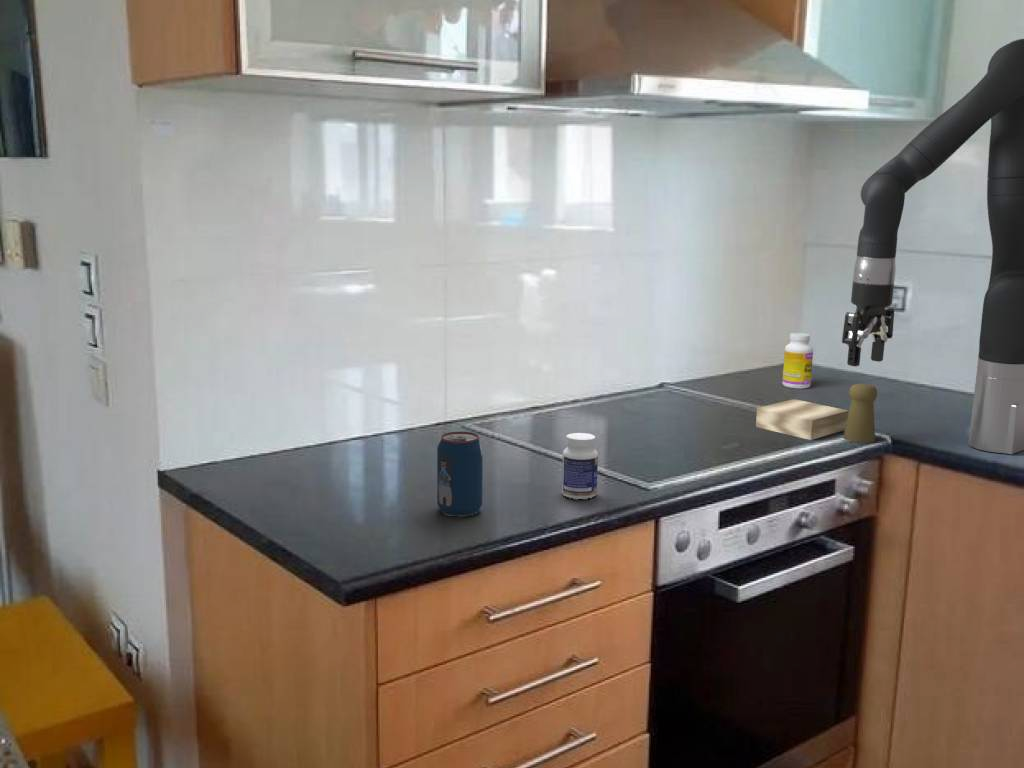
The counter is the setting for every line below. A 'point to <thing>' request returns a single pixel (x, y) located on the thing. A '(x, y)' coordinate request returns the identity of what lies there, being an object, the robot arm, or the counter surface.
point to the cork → (861, 414)
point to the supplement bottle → (798, 362)
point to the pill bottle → (580, 466)
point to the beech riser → (801, 419)
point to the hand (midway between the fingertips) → (865, 363)
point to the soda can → (459, 473)
